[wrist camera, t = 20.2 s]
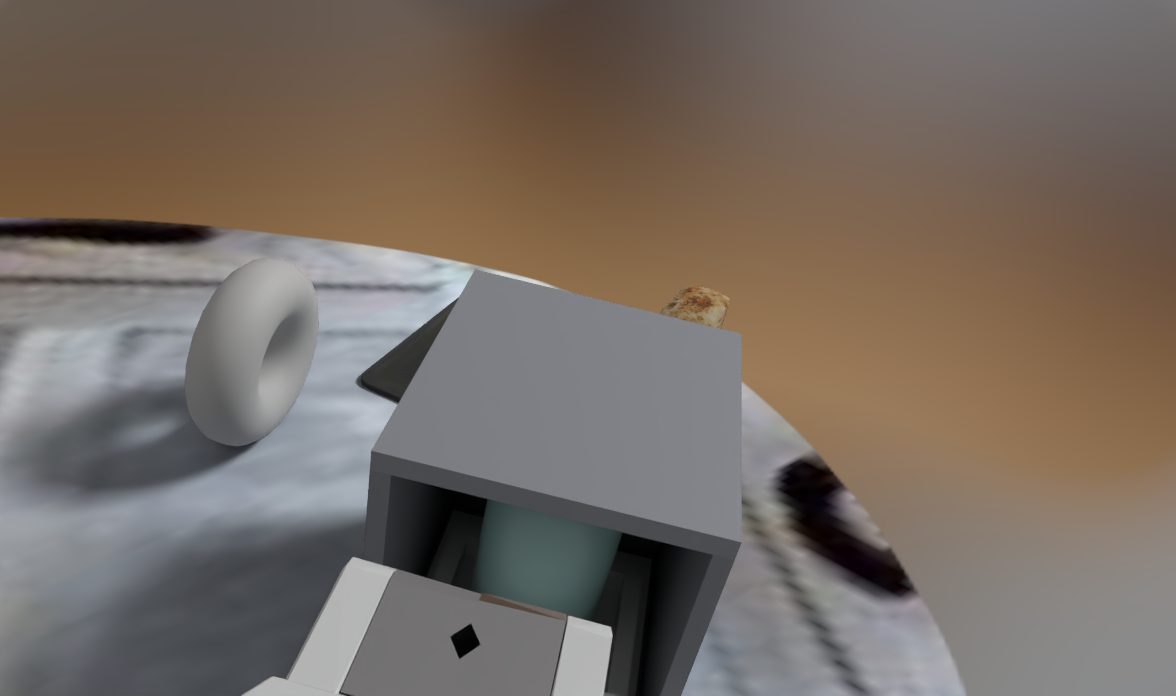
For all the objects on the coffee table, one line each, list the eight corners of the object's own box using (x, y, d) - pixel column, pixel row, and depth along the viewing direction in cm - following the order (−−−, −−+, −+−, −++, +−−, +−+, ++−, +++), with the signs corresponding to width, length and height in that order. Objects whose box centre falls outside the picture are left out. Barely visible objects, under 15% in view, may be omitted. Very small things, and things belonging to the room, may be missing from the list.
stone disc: (653, 385, 60) (690, 253, 54) (705, 405, 59) (748, 274, 53) (596, 472, 51) (634, 326, 46) (656, 497, 50) (702, 352, 45)
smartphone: (567, 327, 64) (568, 318, 64) (463, 436, 52) (465, 425, 52) (474, 291, 66) (476, 282, 66) (354, 388, 54) (354, 377, 53)
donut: (239, 494, 44) (234, 326, 39) (175, 475, 45) (161, 306, 39) (327, 386, 53) (333, 235, 48) (272, 370, 53) (272, 219, 48)
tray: (641, 812, 34) (675, 729, 32) (342, 736, 35) (348, 646, 32) (663, 586, 44) (690, 507, 42) (431, 528, 45) (442, 446, 42)
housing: (642, 791, 35) (741, 542, 28) (351, 717, 36) (371, 450, 28) (666, 558, 46) (741, 334, 39) (443, 502, 47) (475, 269, 39)
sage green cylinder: (529, 713, 35) (579, 539, 30) (434, 630, 37) (466, 457, 33) (609, 638, 39) (664, 474, 34) (518, 567, 41) (558, 405, 37)
